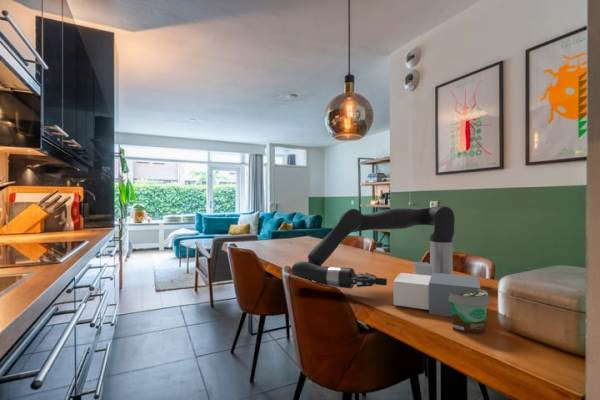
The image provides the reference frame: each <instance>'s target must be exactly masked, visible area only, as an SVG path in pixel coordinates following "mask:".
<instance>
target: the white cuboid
mask: <svg viewBox="0 0 600 400" xmlns="http://www.w3.org/2000/svg"><path fill="white" fill-rule="evenodd" d="M430 278H431V276H429V275H418V274H414V273H404V272H400V273H399V274H398V275H397V276H396V278H395V279H393V281H392V283H393V285H392V287H393V288H392V289H393V290H392V291H393V295H392V296H393V306H400V307H407V308H412V309H419V310H420V309H422V310H427V311H429V281H430Z"/></svg>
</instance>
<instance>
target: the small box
mask: <svg viewBox="0 0 600 400" xmlns="http://www.w3.org/2000/svg"><path fill="white" fill-rule="evenodd" d="M413 274H418V275H429V276H432V266H431V265H430V262H427V261H425V262H424V261H413Z"/></svg>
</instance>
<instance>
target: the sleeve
mask: <svg viewBox="0 0 600 400" xmlns="http://www.w3.org/2000/svg"><path fill="white" fill-rule="evenodd" d="M478 289H481V285H480V280H479V277H478V276H477V275H476V276H473V275H464V274H461V275H460V274H454V273H453V274H441V273H432V276H431V278H430V281H429V310H428V312H429V315H436V316H444V317H449V318H450V317H451V318H452V316H451V305H450V301H448V300H449V296H450V293H451V294H455V295H460V294H463V293H475V292H478ZM481 290H482V289H481Z"/></svg>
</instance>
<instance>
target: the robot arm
mask: <svg viewBox="0 0 600 400" xmlns="http://www.w3.org/2000/svg"><path fill="white" fill-rule="evenodd" d="M338 219H339V220H338V221H337V222H338V223H336V225H335V226H334V227H333V229H332V230H331V231H330V232H328V233H327V235H326V236H324V237H323V239H321V241H320V242H319V243H317V245H316V246H315V247H314V248H313V249H312V250H311V251H310V252H309V253H308V256H307V259H308V260H307V261H297V262H295V263H293V265H292V266H291V273H292V276H293V275H295V276H298V277H301V278H305V279H308V280H310V281H312V282H315V283H316V284H318V283H321V284H320V285H322V284H325V285H324V286H331V287H334V288H340V289H342V288H343V289H349V290H350V289H353V288H354V286H355V285H356V288H361V287H373V286H375V285H377V286H387V285H388V279H387V278H385V277H377V275H376V274H375V275H374V274H371V273H368V272H365V273H363V272H359V273H355V269H354V268H352V267H343V266H323V264H324V263H325V262H326V261H327V259H329V258H330V256H331V255H332V254H333V253H334V251H336V250H337V248H338V247H339V246H340V244H341V243H342V242H343V241H344V240H345V239H346V237H348V236H349V235H350V234H351V233H357V232H362V231H368V230H369V231H370V230H371V231H372V230H379V231H380V230H401V229H408V228H412V227H416V226H433V227H434V229H433V232H432V234H430V235H429V251H430V252H429V255H430V257H429V264H430V265H431V266H432V273H441V274H453V275H454V272H453V268H454V265H453V263H454V262H453V238H454V235H455V223H456V221H455V213H454V211H453V209H452V208H450V207H448V206H443V205H442V206H438V205H437V206H431V207H426V208H418V209H417V208H416V209H414V208H401V207H399V208H389V209H387V208H386V209H382V210H379V211H376V212H372V213H366V214H364V213H363V214H362V212H361V211H360V210H358V209H356V208H349V209H346V210H345V211H344V212H343V213H342V214H341V215H340V216H339V218H338Z"/></svg>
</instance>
